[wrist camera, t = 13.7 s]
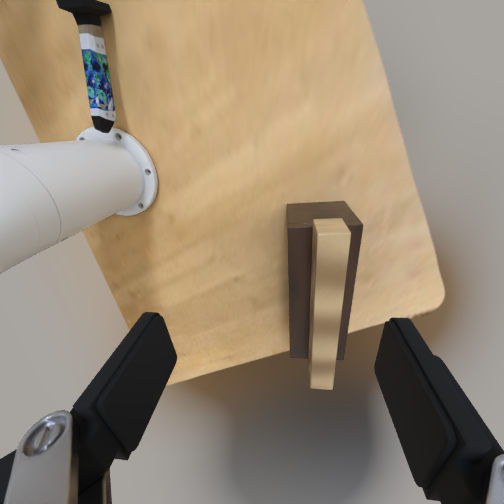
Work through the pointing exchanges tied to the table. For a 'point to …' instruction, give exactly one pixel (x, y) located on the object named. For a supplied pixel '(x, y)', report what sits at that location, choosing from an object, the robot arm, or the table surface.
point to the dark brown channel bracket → (301, 265)
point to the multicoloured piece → (94, 59)
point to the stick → (326, 297)
